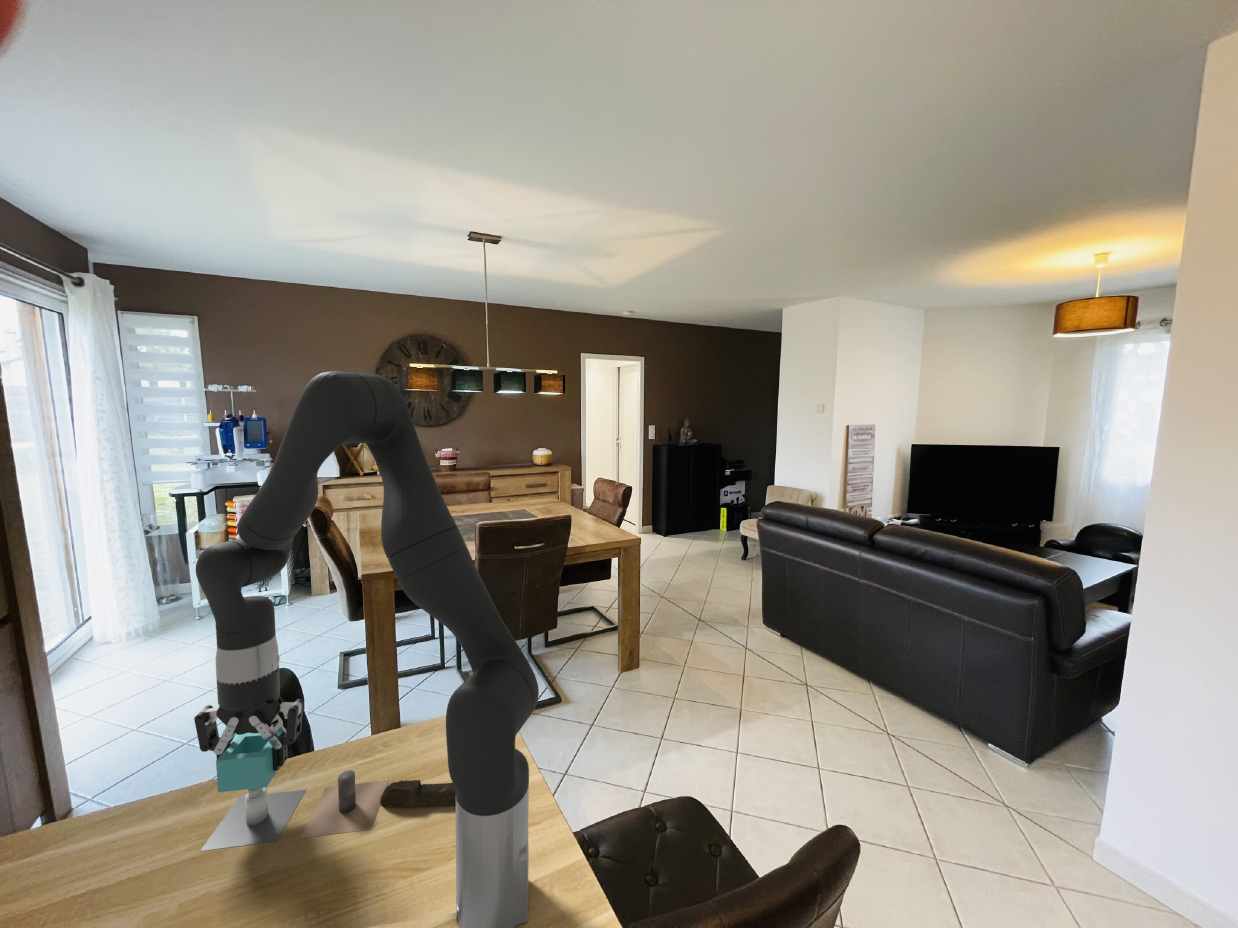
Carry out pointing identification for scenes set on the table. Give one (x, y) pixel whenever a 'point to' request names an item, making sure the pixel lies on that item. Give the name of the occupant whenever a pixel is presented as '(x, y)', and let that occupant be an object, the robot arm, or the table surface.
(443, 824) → the table surface
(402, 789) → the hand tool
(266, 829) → the grey peg base
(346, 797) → the rod stand
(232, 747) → the collar
